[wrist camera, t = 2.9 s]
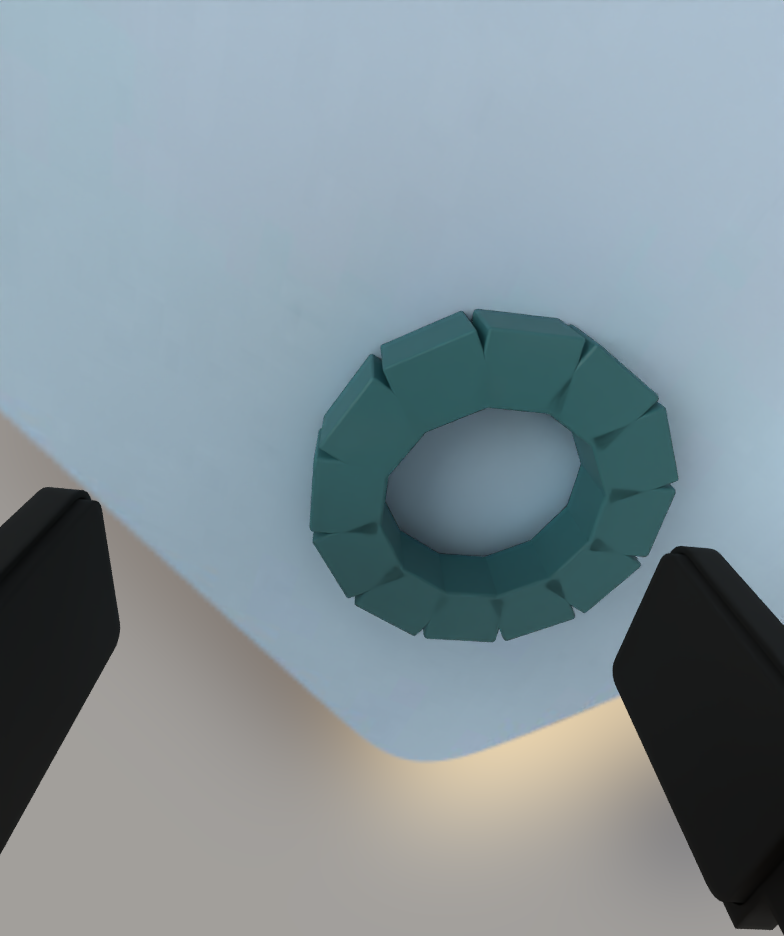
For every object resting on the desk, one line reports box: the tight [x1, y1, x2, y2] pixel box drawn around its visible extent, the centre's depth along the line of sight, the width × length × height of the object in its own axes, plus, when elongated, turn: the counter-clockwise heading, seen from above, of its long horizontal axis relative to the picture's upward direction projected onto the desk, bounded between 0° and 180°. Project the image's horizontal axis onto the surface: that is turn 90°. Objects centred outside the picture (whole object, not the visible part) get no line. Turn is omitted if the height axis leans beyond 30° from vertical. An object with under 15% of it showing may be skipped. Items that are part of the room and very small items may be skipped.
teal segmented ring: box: [310, 309, 678, 642], centre depth 13 cm, size 8×8×2 cm
